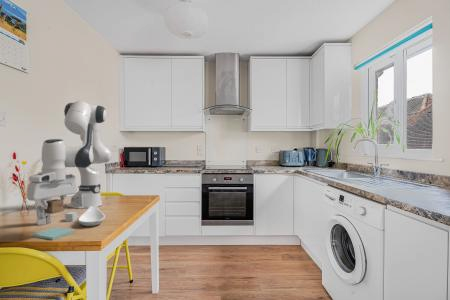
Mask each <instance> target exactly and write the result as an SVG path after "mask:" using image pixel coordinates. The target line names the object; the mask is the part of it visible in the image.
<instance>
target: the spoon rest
mask: <svg viewBox="0 0 450 300" xmlns="http://www.w3.org/2000/svg"><path fill="white" fill-rule="evenodd" d="M98 207H99V206H94V207H92V206H90V207H89V208H86V210H85V212H84V213H82V214H81V215H80V216H78V220H77V221H78V223H79V224H80V225H82V226H84V227H95V226H98V225H100V224H101V223H103V221H104V220H105V217H106V216H105V214H104V213H103V212H102V211H101V209H99V208H98Z"/></svg>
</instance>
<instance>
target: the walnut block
mask: <svg viewBox="0 0 450 300" xmlns="http://www.w3.org/2000/svg"><path fill="white" fill-rule="evenodd" d="M46 202H47V204H50V206H49V207H50V208H49V209H44V213H50V215H51V214H52V215H53V214H57V213H61V212H64V205H63V200H61V199H56V198H55V199H52V200H49V201H46Z"/></svg>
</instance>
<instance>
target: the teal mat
mask: <svg viewBox="0 0 450 300" xmlns="http://www.w3.org/2000/svg"><path fill="white" fill-rule="evenodd" d="M73 233H75V230H74V229H68V228H67V229H66V228H61V227H52V228H49V229H46V230H42V231H39V232H35V233H32V237H33V238H40V239H45V240H51V241H53V240H56V239H59V238H61V237H65V236H67V235H71V234H73Z"/></svg>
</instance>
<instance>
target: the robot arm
mask: <svg viewBox="0 0 450 300" xmlns="http://www.w3.org/2000/svg"><path fill="white" fill-rule="evenodd" d="M63 109H64V111H63V112H64V126H65V127H66V129H67V130H68V131H69V132H71V133H73V134H75V135H79V136H80V138H79V139H80V140H81V142H82V145H81V146H66V144H65V141H64V139H61V138H53V139H52V138H51V139H50V138H49V139H46V140H44V141H43V142H42V147H41V162H42V165H41V166H42V167H41V172H37V173H36V174H32V175H31V176H28V182H29V183H28V184H27V188H26V198H27V200H28V201H31V202H35V200H41V203H42V204H43V208H44V209H49V208H50V207H49V206H50V204H47V202H46V201H47V198H52V199H53V198H57V197H58V198H60V200H63V206H64V204H65V201H66V199H67V196H68V195H72V196H71V198H70V203H68V204H66V207H69V208H73V209H88V208H89V207H90V206H92V207H94V206H97V207H100V206H102V205H103V201H102V193H101V184H100V183H101V179H100V178H101V177H100V176H101V175H100V172H99V171H98V170H97V169H95V168H93V167H90V166H91V165H95V164H96V165H97V164H107V163H109V162H110V161H111V160H112V156H113V155H112V151H111V150H110V149H109V148H108V147H106V146H105V145H104V143H103V142H102V140H101V133H100V126H101V125H100V124H101V123H104V122H105V120H106V118H107V111H106V110H107V109H106V108H105V107H104V106H102V105H96V104H91V103H88V102H86V101H83V100H77V101H74V102H69V103H67V104H65V107H64V108H63ZM66 168H77V170H78V171H79V174H80V185H78V187H77V181H76V176H75V175H74V174H72V173H70V174H66V171H67V170H66ZM77 188H78V189H77ZM77 190H78V191H77Z"/></svg>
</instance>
